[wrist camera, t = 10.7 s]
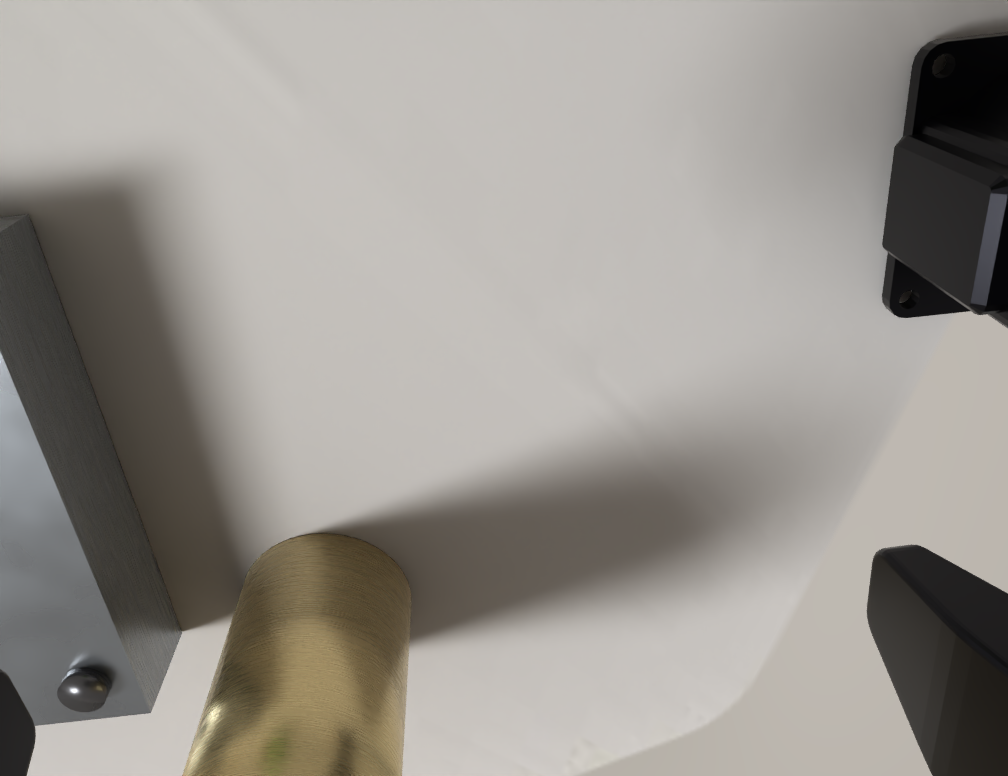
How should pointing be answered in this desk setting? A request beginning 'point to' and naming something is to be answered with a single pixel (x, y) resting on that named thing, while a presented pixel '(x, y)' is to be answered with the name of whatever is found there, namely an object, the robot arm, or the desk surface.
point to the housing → (67, 520)
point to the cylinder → (311, 667)
